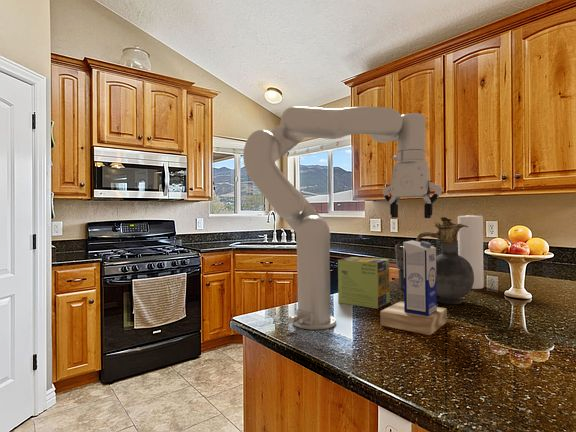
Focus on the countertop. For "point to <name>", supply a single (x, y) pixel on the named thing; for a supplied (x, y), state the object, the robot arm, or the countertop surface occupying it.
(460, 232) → the cylinder container
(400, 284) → the planter
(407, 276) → the milk carton
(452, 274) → the pitcher
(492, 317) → the countertop surface
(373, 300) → the protein box
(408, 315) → the oak block
